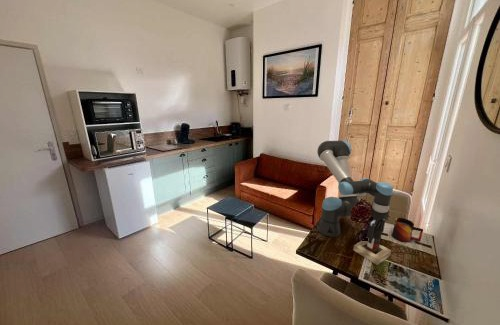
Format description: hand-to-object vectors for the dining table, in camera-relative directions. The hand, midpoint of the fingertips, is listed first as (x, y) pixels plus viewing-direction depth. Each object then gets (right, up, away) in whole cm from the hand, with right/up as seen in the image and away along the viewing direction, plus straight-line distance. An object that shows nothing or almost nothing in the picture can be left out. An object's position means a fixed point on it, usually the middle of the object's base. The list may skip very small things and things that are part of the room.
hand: (372, 245), depth 119 cm
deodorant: (0, -4, +1) cm, 4 cm away
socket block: (0, -5, +1) cm, 5 cm away
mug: (+29, -2, +15) cm, 33 cm away
